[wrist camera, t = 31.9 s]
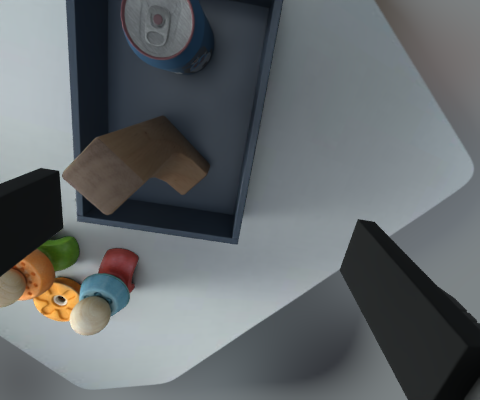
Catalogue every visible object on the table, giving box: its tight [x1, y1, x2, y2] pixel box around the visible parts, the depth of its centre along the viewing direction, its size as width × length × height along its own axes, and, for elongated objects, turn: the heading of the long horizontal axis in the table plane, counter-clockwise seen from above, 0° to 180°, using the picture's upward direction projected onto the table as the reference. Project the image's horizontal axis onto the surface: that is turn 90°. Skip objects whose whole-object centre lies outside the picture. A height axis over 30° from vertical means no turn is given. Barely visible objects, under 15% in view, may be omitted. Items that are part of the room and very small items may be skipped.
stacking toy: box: [0, 236, 139, 336], centre depth 40 cm, size 18×17×12 cm
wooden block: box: [62, 116, 210, 215], centre depth 29 cm, size 9×4×18 cm, turn 41°
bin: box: [66, 0, 283, 244], centre depth 33 cm, size 28×20×8 cm
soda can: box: [121, 0, 214, 75], centre depth 27 cm, size 7×7×12 cm
